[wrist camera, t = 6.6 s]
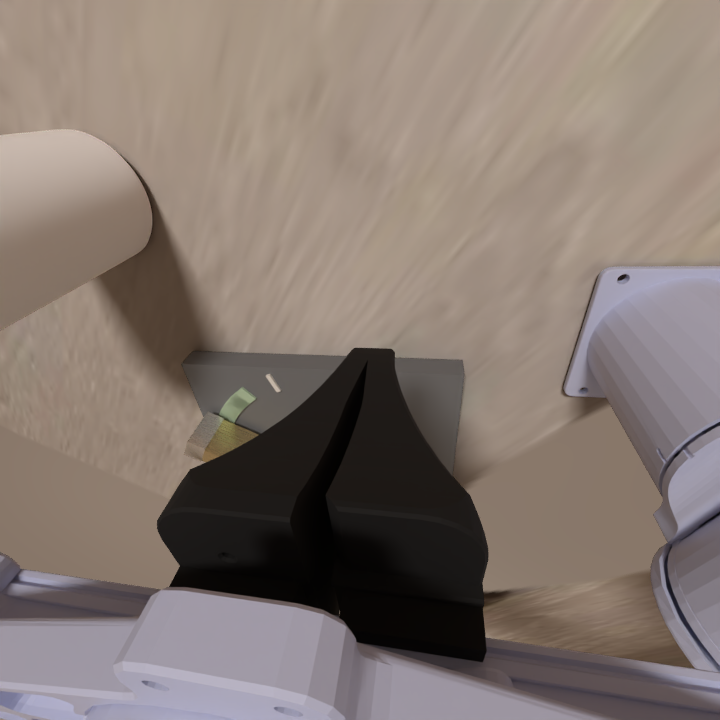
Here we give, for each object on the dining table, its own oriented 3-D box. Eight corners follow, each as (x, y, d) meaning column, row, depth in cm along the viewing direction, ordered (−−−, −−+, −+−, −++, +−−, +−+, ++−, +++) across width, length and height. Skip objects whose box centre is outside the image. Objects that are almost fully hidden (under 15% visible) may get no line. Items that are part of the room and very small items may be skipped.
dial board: (462, 360, 23) (464, 376, 22) (444, 525, 33) (444, 543, 32) (192, 351, 26) (179, 365, 25) (253, 505, 36) (246, 521, 35)
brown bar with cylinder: (212, 398, 25) (189, 430, 23) (368, 465, 27) (361, 502, 25) (200, 435, 28) (178, 468, 26) (343, 495, 30) (336, 531, 27)
